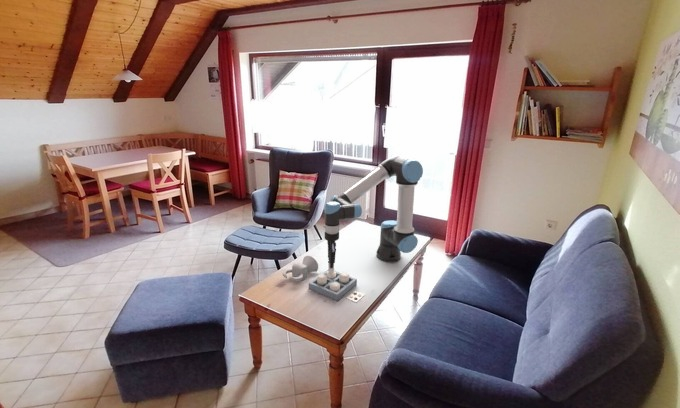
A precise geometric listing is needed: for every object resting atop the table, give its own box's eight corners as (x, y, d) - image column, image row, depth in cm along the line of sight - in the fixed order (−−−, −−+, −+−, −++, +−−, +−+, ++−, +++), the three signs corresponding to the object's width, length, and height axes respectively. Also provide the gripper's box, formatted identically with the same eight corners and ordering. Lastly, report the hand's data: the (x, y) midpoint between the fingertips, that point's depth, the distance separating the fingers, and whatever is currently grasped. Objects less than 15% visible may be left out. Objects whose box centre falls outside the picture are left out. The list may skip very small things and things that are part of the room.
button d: (330, 275, 187) (330, 269, 185) (337, 278, 184) (338, 272, 183) (324, 279, 183) (324, 273, 181) (332, 282, 180) (332, 276, 179)
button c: (342, 277, 182) (342, 271, 180) (350, 281, 179) (351, 274, 178) (337, 282, 178) (337, 275, 176) (345, 285, 175) (345, 278, 174)
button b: (320, 279, 180) (320, 272, 178) (328, 282, 177) (328, 276, 176) (314, 283, 176) (314, 277, 174) (322, 287, 173) (322, 280, 172)
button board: (329, 275, 190) (329, 268, 189) (356, 285, 181) (356, 279, 179) (308, 289, 176) (308, 282, 175) (337, 301, 166) (337, 294, 165)
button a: (333, 287, 176) (333, 281, 175) (341, 291, 173) (342, 284, 172) (327, 292, 172) (327, 285, 171) (336, 295, 169) (336, 288, 168)
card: (354, 291, 176) (354, 290, 175) (364, 295, 172) (364, 294, 172) (346, 298, 169) (346, 297, 169) (356, 302, 166) (356, 301, 166)
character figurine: (303, 265, 200) (279, 280, 184) (303, 251, 197) (278, 266, 181) (321, 272, 193) (297, 288, 177) (320, 258, 190) (297, 273, 174)
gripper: (322, 227, 180) (322, 266, 187) (326, 237, 168) (325, 279, 175) (336, 226, 181) (335, 265, 189) (341, 236, 169) (340, 278, 176)
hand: (331, 272), depth 182 cm, fingers closed
